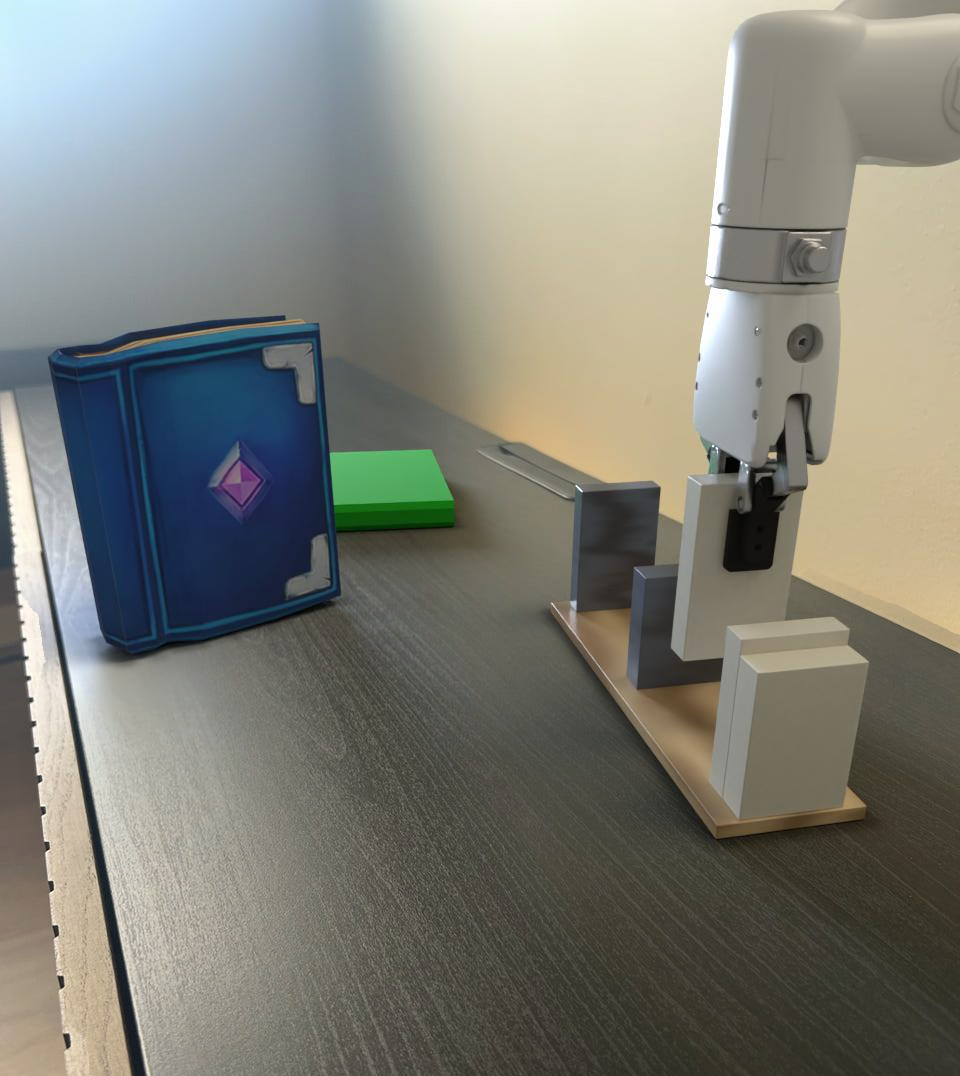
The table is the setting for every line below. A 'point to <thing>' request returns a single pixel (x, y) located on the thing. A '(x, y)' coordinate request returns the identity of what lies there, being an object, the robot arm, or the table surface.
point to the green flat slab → (389, 490)
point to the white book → (712, 590)
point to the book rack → (654, 650)
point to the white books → (786, 717)
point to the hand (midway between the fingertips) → (737, 559)
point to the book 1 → (200, 476)
